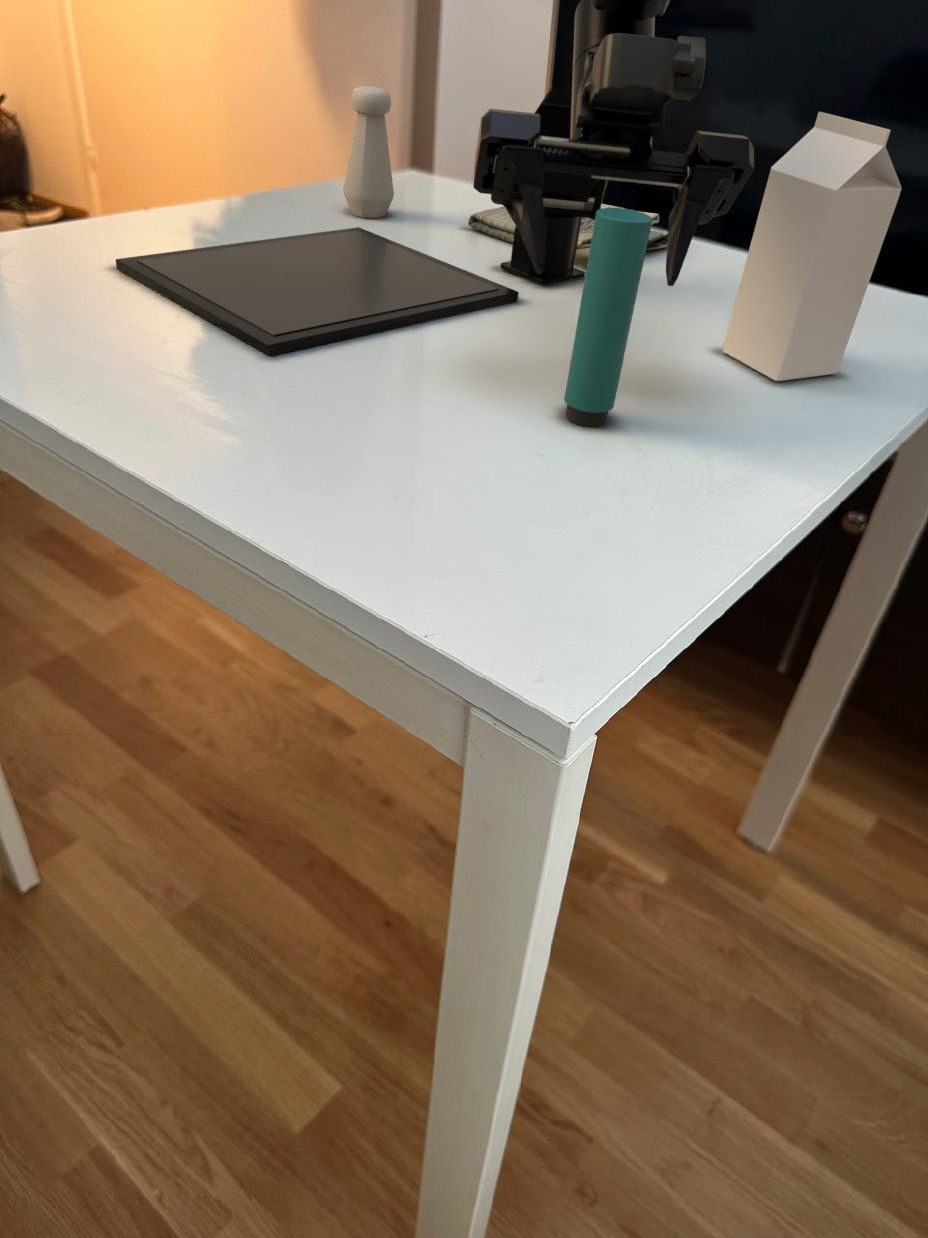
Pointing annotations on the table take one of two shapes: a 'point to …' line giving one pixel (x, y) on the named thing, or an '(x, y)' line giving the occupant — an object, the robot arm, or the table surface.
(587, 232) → the dish towel
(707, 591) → the table surface
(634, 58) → the robot arm
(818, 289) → the milk carton
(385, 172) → the salt shaker
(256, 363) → the table surface
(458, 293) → the tablet
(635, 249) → the marker
